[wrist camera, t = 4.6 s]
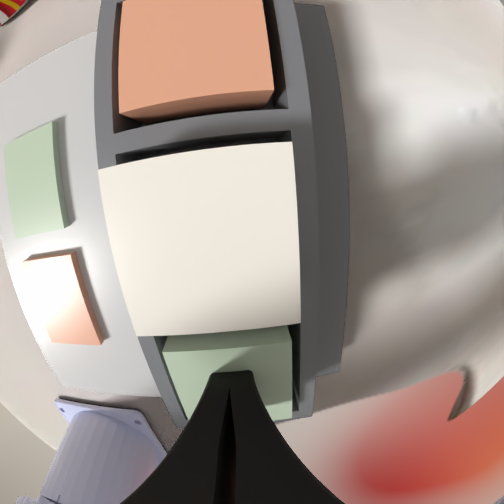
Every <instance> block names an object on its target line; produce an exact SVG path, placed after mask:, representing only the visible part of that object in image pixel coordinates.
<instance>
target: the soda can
mask: <svg viewBox="0 0 504 504" xmlns="http://www.w3.org/2000/svg"><path fill="white" fill-rule="evenodd" d="M28 1H29V0H0V26H1V25H2V24H3V23H5V22H6V21H8V20H9V19H11V18H12V17H13V16H14V15H16V14H17V13H18V12H19V11H20V10H21V9H22V8H23V7H24V6H25V5H26V4H27V3H28Z"/></svg>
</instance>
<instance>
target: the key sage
mask: <svg viewBox="0 0 504 504" xmlns="http://www.w3.org/2000/svg"><path fill="white" fill-rule="evenodd" d="M162 353H163V356H164V359H165V362H166V364H167V367H168V370H169V373H170V375H171V378H172V381H173V383H174V386H175V389H176V391H177V394H178V396H179V399H180V401H181V404H182V406H183V408H184V411H185V413H186V415H187V418H188V420H189V419H190V418H191V416H192V414H193V412H194V410H195V408H196V406H197V404H198V402H199V400H200V398H201V396H202V394H203V391H204V389H205V387H206V384H207V382H208V379H209V376H210V375H211V374H212V373H217V372H231V371H242V370H250V371H252V372H253V376H254V380H255V384H256V387H257V389H258V392H259V394H260V397H261V399H262V401H263V403H264V406H265V407H266V409H267V411H268V413H269V415H270V417H271V419H272V420H273V421H274V420H282V419H289V418H292V340H291V337H290V334H289V330H288V327H287V325H283V326H275V327H266V328H258V329H249V330H239V331H228V332H216V333H203V334H187V335H168V337H167V339H166V342H165V345H164V348H163V351H162Z"/></svg>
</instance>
